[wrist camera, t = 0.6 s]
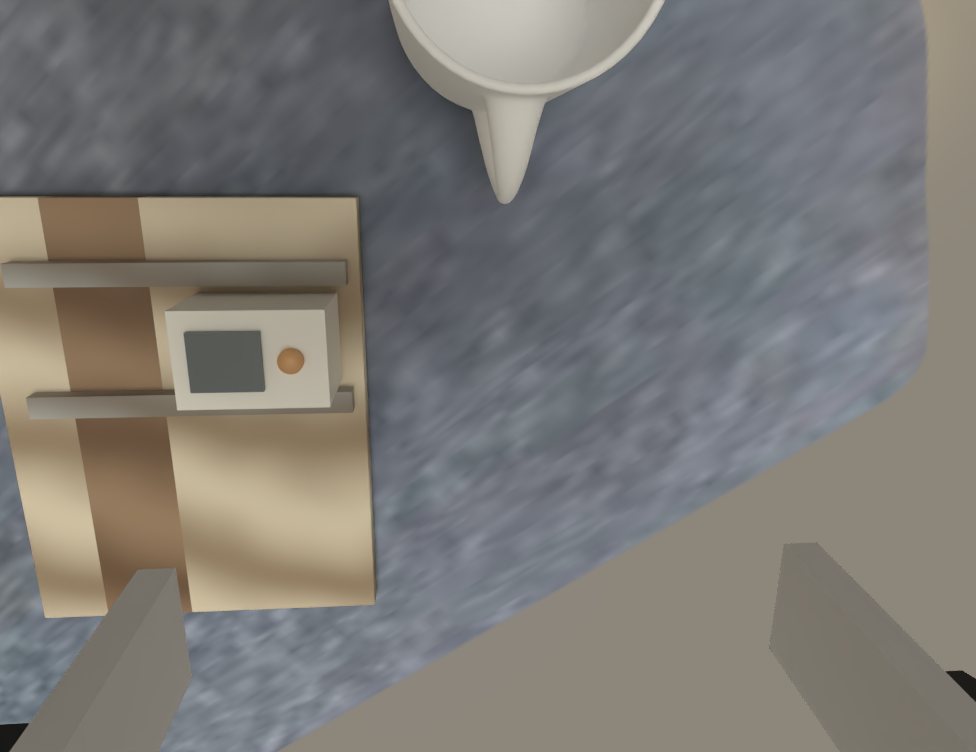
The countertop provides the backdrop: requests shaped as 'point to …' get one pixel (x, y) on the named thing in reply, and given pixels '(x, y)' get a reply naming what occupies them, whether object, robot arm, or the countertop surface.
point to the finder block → (255, 350)
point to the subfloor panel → (153, 411)
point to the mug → (515, 61)
